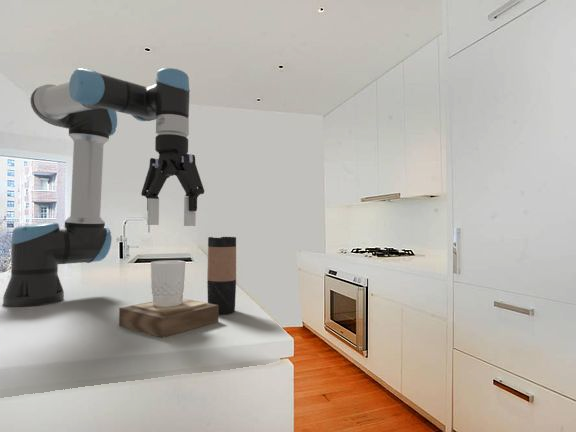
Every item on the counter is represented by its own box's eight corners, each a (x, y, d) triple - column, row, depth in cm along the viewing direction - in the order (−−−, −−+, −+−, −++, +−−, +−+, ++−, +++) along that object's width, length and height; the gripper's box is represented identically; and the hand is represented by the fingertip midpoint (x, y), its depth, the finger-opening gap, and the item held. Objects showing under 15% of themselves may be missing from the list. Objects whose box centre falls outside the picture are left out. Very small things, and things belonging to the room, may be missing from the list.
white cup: (166, 309, 86) (166, 264, 86) (142, 305, 90) (143, 262, 90) (192, 303, 92) (192, 261, 93) (169, 299, 96) (169, 259, 97)
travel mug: (230, 315, 99) (230, 237, 99) (202, 314, 100) (203, 237, 101) (239, 309, 106) (240, 236, 107) (213, 308, 108) (214, 236, 108)
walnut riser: (119, 325, 89) (119, 305, 89) (175, 312, 102) (175, 295, 102) (162, 337, 80) (162, 315, 80) (218, 321, 93) (218, 303, 93)
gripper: (127, 139, 96) (126, 224, 96) (195, 126, 81) (193, 226, 81) (153, 144, 102) (152, 224, 102) (220, 133, 88) (219, 226, 87)
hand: (170, 225), depth 91 cm, fingers open, 13 cm apart
